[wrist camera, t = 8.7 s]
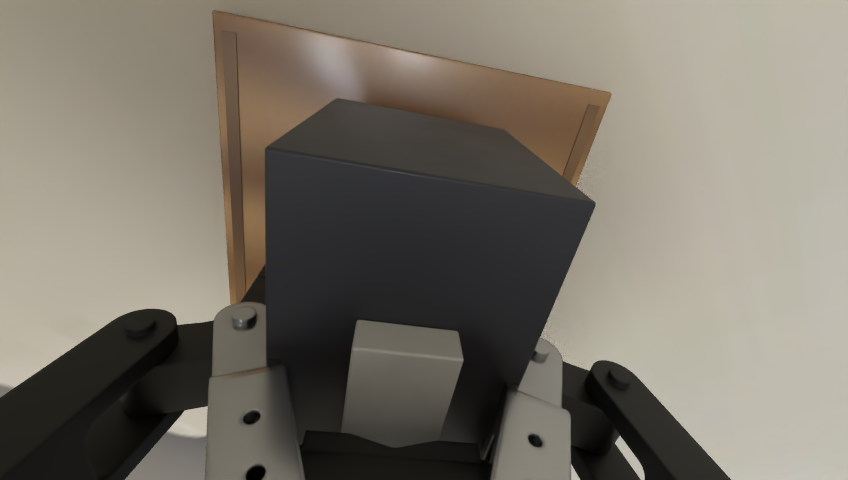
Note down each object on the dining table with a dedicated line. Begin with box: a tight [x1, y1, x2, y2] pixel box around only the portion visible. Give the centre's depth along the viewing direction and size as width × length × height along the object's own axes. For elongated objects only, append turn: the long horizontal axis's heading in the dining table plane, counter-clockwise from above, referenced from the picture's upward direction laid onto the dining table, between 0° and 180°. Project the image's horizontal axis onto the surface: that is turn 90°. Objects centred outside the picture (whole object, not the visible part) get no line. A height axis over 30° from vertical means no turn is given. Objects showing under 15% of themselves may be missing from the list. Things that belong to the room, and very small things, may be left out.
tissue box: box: [265, 98, 595, 449], centre depth 11 cm, size 11×5×7 cm, turn 169°
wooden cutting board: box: [212, 10, 611, 305], centre depth 18 cm, size 14×16×1 cm
